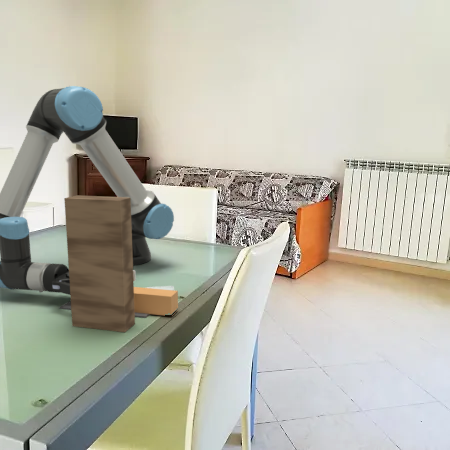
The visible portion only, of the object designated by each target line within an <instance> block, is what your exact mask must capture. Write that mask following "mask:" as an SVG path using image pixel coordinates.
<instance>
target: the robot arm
mask: <svg viewBox="0 0 450 450" xmlns="http://www.w3.org/2000/svg"><path fill="white" fill-rule="evenodd" d="M103 111H104V107H103V104H102V102H101V100H100V98H99V97H98V94H96V93H95V92H94V91H92V90H91V89H89V88H86V87H84V86H78V85H71V86H70V85H69V86H66V87H62V88H54V89H50V90H48V91H47V92H45V93H44V94H43V95H41V97H40V98H39V99H38V101H37V103H36V104H35V106H34V108H33V110H32V113H31V115H30V117H29V119H28V121H27V124H26V125H25V128H26V130H27V133H26V135H25V137H24V139H23V142H22V143H21V146H20V149H19V151H18V153H17V155H16V157H15V159H14V160H13V161H14V162H13V164H12V166H11V168H10V170H9V173H8V175H7V177H6V179H5V182H4V184H3V186H2V188H1V190H0V288H3V289H8V290H21V291H22V290H24V291H34V292H35V291H36V292H37V291H38V292H39V293H43V292H49V293H59V294H60V293H61V294H65V295H69V296H70V280H69V267H68V266H67V265H66V264H63V263H50V262H33V261H32V252H31V244H30V243H31V242H30V241H31V240H30V228H29V223H28V219H26V218H25V217H23V216H21V215H22V214H23V212H24V209H25V207H26V205H27V202H28V200H29V198H30V195H31V193H32V192H33V189H34V186H35V185H36V183H37V180H38V178H39V176H40V174H41V171H42V169H43V167H44V165H45V162H46V160H47V158H48V155H49V153H50V151H51V148H52V147H53V144H55V143H58V142H59V140H60V138H61V136H62V134H63V133H64V135H66V137H67V138H68V139H69V141H70V143H71V144H74V145H78V146H80V147H81V148H82V149H83V152H84V153H85V155H87V157H88V158H89V159H90V161H91V162H92V164H93V165H94V166H95V168H96V169H97V170H98V172H99V173H100V175H101V176H102V177H103V179H104V180H105V181H106V183H107V184H108V186H109V187H110V188H111V190H112V191H113V192H114V193H115V195H116V197H128V198H131V226H132V254H133V266H137V265H142V264H146V263H148V262H150V261H151V259H152V254H151V253H152V252H151V250H150V247H149V244H148V242H147V239H150V240H151V239H152V240H160V239H163V238H165V237H166V236H167V235H168V234H169V233H170V232H171V231H172V228H173V226H174V221H175V216H174V212H173V209H172V208H171V207H170V206H169V205H167V204H166V203H161V201H160V200H159V199H158V197H157V196H156V194H155V193H154V191H153V190H147V189H146V188H145V187H144V185H143V183H142V182H141V181H140V179H139V177H138V175H137V174H136V173H135V172H134V170H133V168H132V166H130V164H129V163H128V161H127V159H126V158H125V156H124V155H123V153H122V152H121V151H120V149H119V147H118V146H117V145H116V143H115V142H114V140H113V139H112V137H111V136H110V135H109V133H108V131H107V130H106V126H107V119H106V118H105V117H104V113H103ZM146 238H147V239H146ZM135 281H137V274H136V270H134V269H133V282H135Z"/></svg>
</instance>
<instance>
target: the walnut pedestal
mask: <svg viewBox="0 0 450 450" xmlns="http://www.w3.org/2000/svg"><path fill="white" fill-rule="evenodd" d="M64 214H65V215H64V216H65V228H66V229H65V230H66V231H65V232H66V245H67V246H66V248H67V262H68V269H69V280H70V295H69V297H70V301H71V310H70V312H71V324H72V325H71V326H72V327H76V328H84V329H86V328H87V329H93V330H100V331H101V330H103V331H110V332H111V331H112V332H118V333H119V332H120V333H126V332H127V331H129V330H130V329H131V328H132V327H133V326H134V325H136V319H135V318H136V317H135V311H134V287H135V286H134V285H135V283H134V282H135V281H133V270H134V265H133V254H132V226H131V198H128V197H117V196H97V195H73V196H72V195H71V196H68V197H65V198H64Z"/></svg>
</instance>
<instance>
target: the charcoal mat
mask: <svg viewBox="0 0 450 450" xmlns="http://www.w3.org/2000/svg"><path fill="white" fill-rule="evenodd" d="M58 308H59V309H61V310H68V311H69V310H70V311H71V300H69V301H67V302H66V303H64V304H61V306H59V307H58ZM150 315H151V314H145V313H136V312H135V318H141V319H147V318H148V317H149V316H150Z"/></svg>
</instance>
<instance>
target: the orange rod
mask: <svg viewBox="0 0 450 450" xmlns="http://www.w3.org/2000/svg"><path fill="white" fill-rule="evenodd" d="M174 290H175V289H174ZM174 290H163V289H152V288H146V287H138V286H134V311H135V312H136V313H145V314H150V315H154V316H155V315H157V316H165V314H168V313H170V314H172V313H173V312H174V311H175V310H176V309H177V308H178V309H179V291H178V290H175V291H174Z"/></svg>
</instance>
